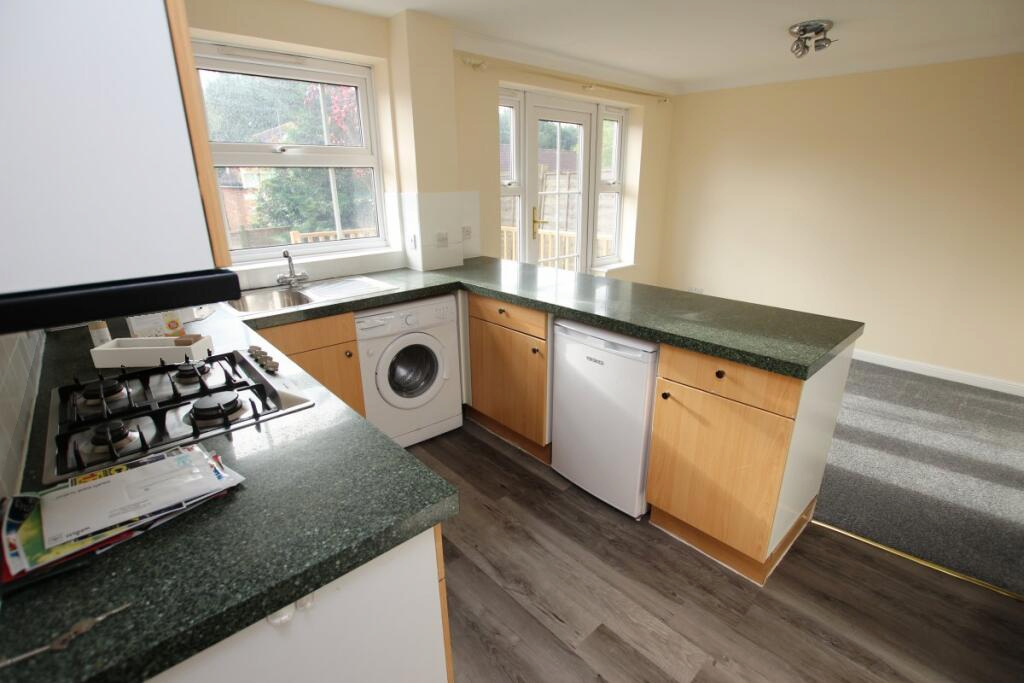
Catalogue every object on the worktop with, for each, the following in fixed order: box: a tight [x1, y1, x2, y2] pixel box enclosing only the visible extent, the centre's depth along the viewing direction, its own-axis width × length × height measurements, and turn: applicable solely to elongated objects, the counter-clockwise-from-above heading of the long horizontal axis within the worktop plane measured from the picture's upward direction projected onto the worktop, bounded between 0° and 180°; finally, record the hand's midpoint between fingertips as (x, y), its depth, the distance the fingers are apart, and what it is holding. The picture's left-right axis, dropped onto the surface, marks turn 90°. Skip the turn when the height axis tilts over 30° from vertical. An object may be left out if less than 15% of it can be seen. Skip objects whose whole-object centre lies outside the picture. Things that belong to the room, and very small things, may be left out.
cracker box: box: [125, 310, 187, 338], centre depth 156 cm, size 14×6×21 cm, turn 141°
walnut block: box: [174, 333, 203, 346], centre depth 140 cm, size 5×5×4 cm
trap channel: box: [89, 335, 215, 369], centre depth 141 cm, size 28×10×6 cm, turn 93°
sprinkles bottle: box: [87, 320, 113, 348], centre depth 145 cm, size 5×5×14 cm
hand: (152, 304), depth 136 cm, fingers closed
